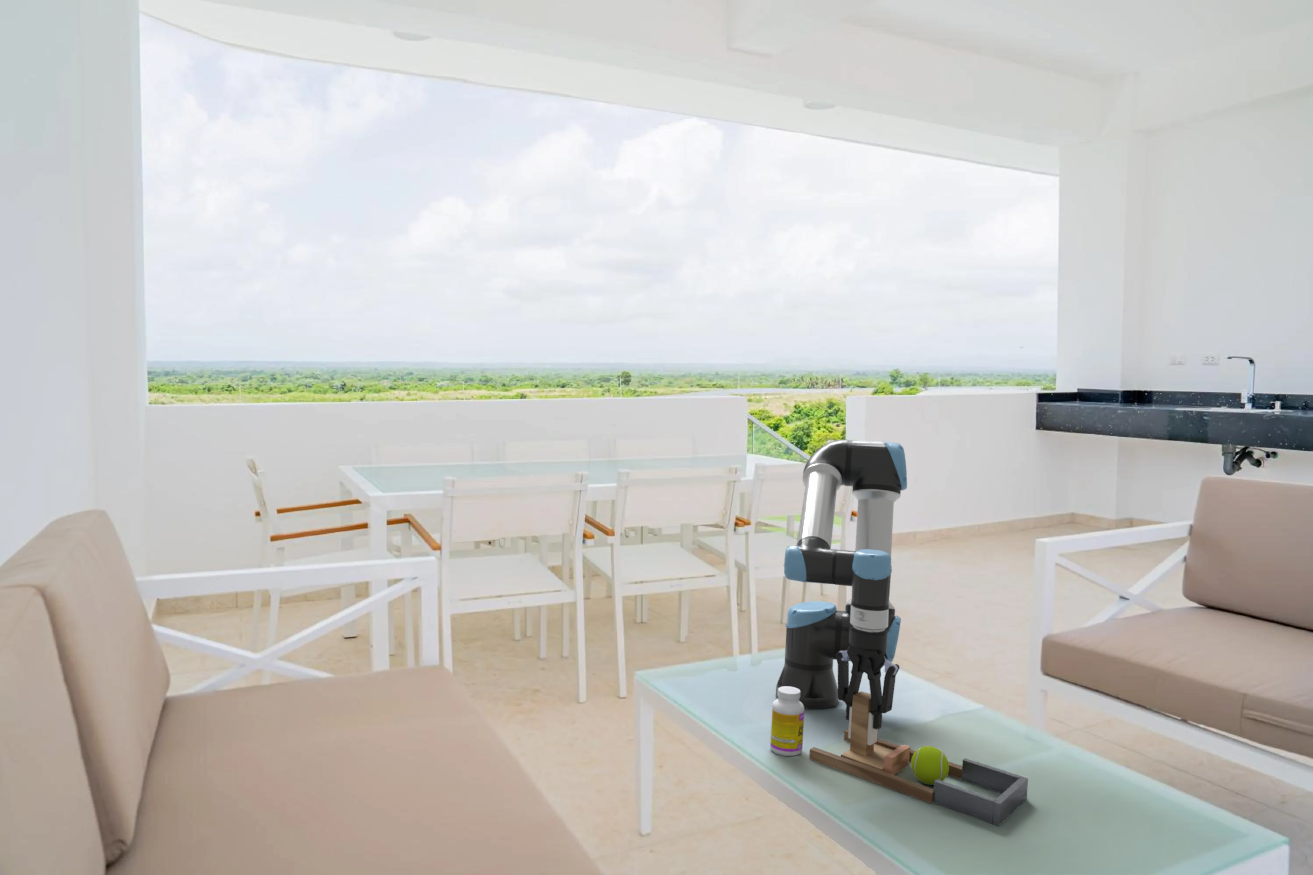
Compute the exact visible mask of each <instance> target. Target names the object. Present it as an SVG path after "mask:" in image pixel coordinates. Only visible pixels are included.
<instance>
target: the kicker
mask: <svg viewBox="0 0 1313 875" xmlns="http://www.w3.org/2000/svg"><path fill="white" fill-rule="evenodd" d="M871 711H872V703H871V693H869V692H865V691H861V690H860V691H859V692H858V693H857V694H854V695H853V702H852V721H851V739H850V742H849V744H850V745H849V749H848V750H846V751H845V752H842V753H840V756H841V757H844V758H847V759H849V760H852V761H855V762H858V763H861V764H864V765H866V766H869V767H872V768H875V769H878V770H880V771H883V772H886V773H889V774H892V775H895V776H896V774H899V773H900V772H902V771H903V770H904V769H905V768H908V767H909V765H910V762H909V758H910V749H911V746H910V745H909V746H908V745H906V744H902V745H899V746H900V747H898V748H897V749H895V750H891V749H888V748H885V747H882V746H879V745H876V744H872V745H867V733H868V715H869V712H871Z"/></svg>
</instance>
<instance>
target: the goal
mask: <svg viewBox="0 0 1313 875" xmlns="http://www.w3.org/2000/svg"><path fill="white" fill-rule="evenodd" d="M961 766H962V779H960V780H961V781H962V782H963V781H964V782H967V783H970V784H972V785H975V786H978V787H981V788H984V789H987V790H991V791H993V792H996V793H999V794H1000V795H999V796H998V797H997V798H992V797H989V796H987V795H983V794H982V793H978V792H975V791H972V790H969V789H966V788H963V787H961V786H957V785H954V784H952V783H948V781H947V782H946V781H945V780H944V781H941V780H938V779H937V780H935V781H934V785H933V789H934V793H933V803H932V804H936V805H938V806H942V807H945V808H947V809H950V810H953V811H955V812H958V813H961V814H964V815H967V816H969V817H972V818H975V819H978V820H980V821H983V822H986V823H988V824H991V825H993V826H997V827H1000V826H1001V825H1002V824H1003V823H1004V822H1005V821H1006V820H1007V819H1008V818H1009V817H1010V816H1011V815H1012V814H1013V813H1014V812H1015V811H1016V810H1017V809H1018V808H1019V807H1021V805H1023V803H1024V802H1025V801H1026V800H1028V789H1029V788H1028V787H1029V786H1028V784H1029V778H1028V777H1026V776H1021V775H1019V774H1016V773H1012V772H1009V771H1007V770H1003V769H1000V768H997V767H994V766H991V765H988V764H985V763H981V762H979V761H975V760H972V759H970V758H964V759H962V765H961Z"/></svg>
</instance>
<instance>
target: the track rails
mask: <svg viewBox="0 0 1313 875" xmlns="http://www.w3.org/2000/svg"><path fill="white" fill-rule="evenodd" d="M848 731H849V728H847V729H845V730H843V740H844V741H847V742H849V743H850V738H848ZM874 744H876V745H879V746H882V747H885V748H888V749H891V750H895V749H897V748H898V747H900V746H901V745H899V744H896V743H893V742H891V741H887V740H883V739H881V738H878V737H877V742H875V743H874ZM915 751H916V750H914V749H911V748H910V758H909V763H911V759H912V756H913V754H914V753H915ZM808 758H809V760H810V761H814V762H817V763H820V764H822V765H825V766H827V767H831V768H833V769H835V770H836V769H837V770H838V771H842V772H844V773H847V774H849V775H853V776H856V777H858V778H861V779H863V780H866V781H869V782H872V783H874V784H877V785H880V786H883V787H885V788H888V789H892V790H894V791H896V792H898V793H902V794H904V795H907V796H909V797H912V798H916V799H919V800H921V801H923V802H926V803H929V804H934V803H933V793H934V788H932V787H928V786H925V785H924V784H920V783H918V782H914V781H911V780H908V779H906V778H903V777H899V776H898V775H896V774H895V775H892V774H889V773H886V772H883V771H880V770H878V769H875V768H872V767H869V766H866V765H864V764H861V763H858V762H855V761H852V760H849V759H847V758H844V757H841V755H838V754H835V753H832V752H829V751H826V750H823V749H822V748H821V749H820V748H818V747H815V746H813V747H811V748H810V749H809V757H808ZM948 763H949V772H948V775H947V776H950V777H953V778H957V779H959V780H961V779H962V765H960V764H959V763H958V764H957V763H954V762H951V761H948Z"/></svg>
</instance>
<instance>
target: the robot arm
mask: <svg viewBox="0 0 1313 875" xmlns="http://www.w3.org/2000/svg"><path fill="white" fill-rule="evenodd" d="M802 471H803V472H802V483H803V485H804V493H803V500H802V501H803V502H802V507H801V512H800V513H801V515H800V520H799V526H798V527H799V528H798V533H797V541H796V545H788V546H787V547H786V548H785V553H784V560H783V563H784V565H783V574H784V577H785V578H786V579H787V580H789V581H794V582H801V583H811V584H812V583H814V584H824V585H825V584H827V585H835V586H847V587H851V598H850V599H849V600H848V601H846V603H845V609H844V610H837V609H838V608H837V606H836V604H835V603H833V602H828V601H823V600H821V601H820V600H818V601H817V600H815V601H814V600H813V601H812V600H811V601H804V602H800V603H795V604H794V605H792V606H791V607H789V608H788V610H787V616H786V623H785V630H786V634H785V649H784V664H783V667H782V670H781V672H780V676H779V678H778V680H777V683H776V686H775V697H776V699H778V694H777V693H778V688H779V687H782V686H790V687H795V688H798V689H799V690H800V698H799V701H800V702H801V703H802V704H803V705H804V709H808V710H822V709H823V710H824V709H830V708H832V707H836V705H838V703H839V701H842V702H844V703H845V720H846V721H848V729H849V731H848V738H850V739H851V721H852V702H853V695H854V694H857V693H859V692H860V686H861V683H862V679H863V675H864V673H865V674H866V675H867V680H868V682H869V683H868V684H869V691H870V693H869V694H871V703H872V711H871V712H869V715H868V733H867V745H872V744H874V743H875V742H877V738H878V730H879V729H880V728H881V727H882V724H883V723H882V722H883V715H884V714H887V713H888V712H890V711H892V710H893V703H894V694H895V693H894V692H895V686H896V685H895V684H896V678H897V677H896V676H897V674H898V672H899V670H900V665H899V664H898V663H896V664H894V663H893V661H894V658H895V656H896V651H897V646H898V642H899V641H898V640H899V635H900V630H901V623H902V618H901V617H900V616H898V615H896V607H894V605H893V604H892V603H891V602H890V592H891V576H892V571H893V569H892V548H893V547H892V543H893V529H894V528H893V526H894V506H895V505H894V504H895V502H896V501H898V499H900V498H901V492H902V491H904V490H907V489H908V478H907V475H908V474H907V473H908V471H907V461H906V453H905V450H904V447H903V445H901V444H900V443H898V442H890V441H889V442H888V441H886V440H882V441H881V440H879V441H878V440H876V441H875V440H858V439H844V438H843V439H836V440H833V441H830V442H827V443H826V444H823V445H822V446H821V447H819V448H818V449H817V450H815V451H814V452H813V454H811V456H810V457H809V458H808V460H807V461H806V463H805V465H804V468H803V470H802ZM841 486H846V487H852V495H853V496H854V497H855V498H856V499H857V513H856V514H857V516H856V533H855V547H854V548H855V549H854V550H848V549H847V550H846V549H834V548H832V539H833V531H834V521H835V509H836V501H837V492H838V491H839V489H840V488H841ZM834 660H836V663H837V680H836V677H835V673H834ZM850 662H851V663H852V666H851V671H850V666H849V664H850ZM883 667H884V673H885V675H884V678H883V687H882V683H881V682H882V681H881V677H882V672H881V669H882V668H883ZM850 674H851V676H850Z"/></svg>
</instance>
